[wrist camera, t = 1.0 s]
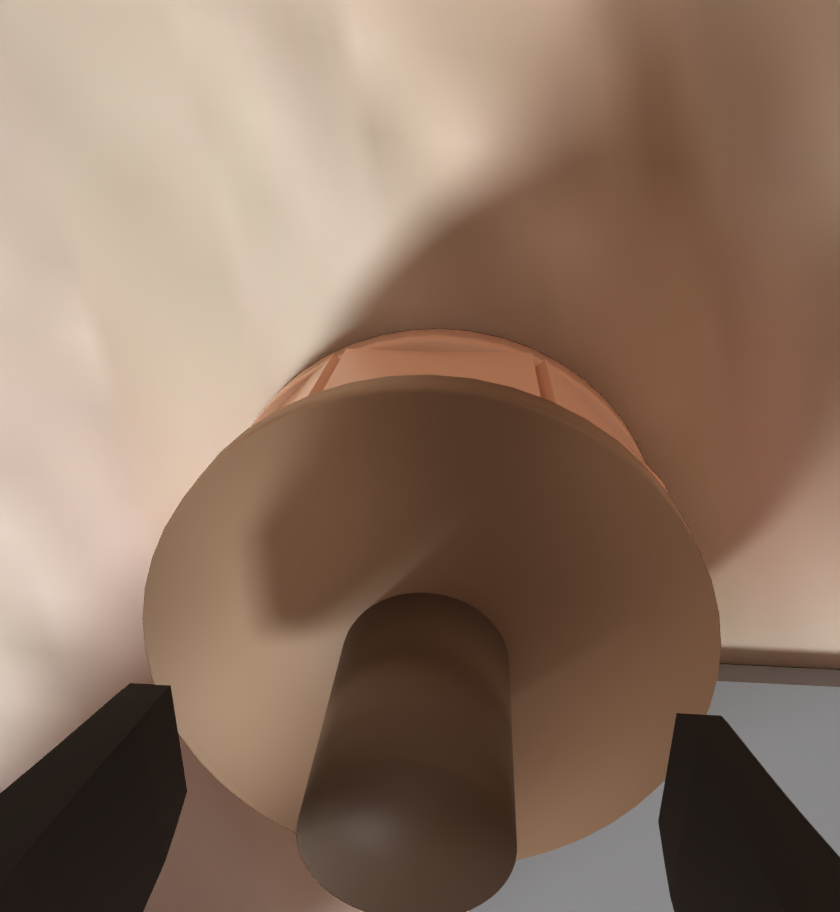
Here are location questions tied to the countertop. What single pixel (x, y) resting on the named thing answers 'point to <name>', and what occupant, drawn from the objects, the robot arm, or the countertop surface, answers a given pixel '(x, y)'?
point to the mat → (637, 832)
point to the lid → (430, 632)
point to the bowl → (457, 372)
